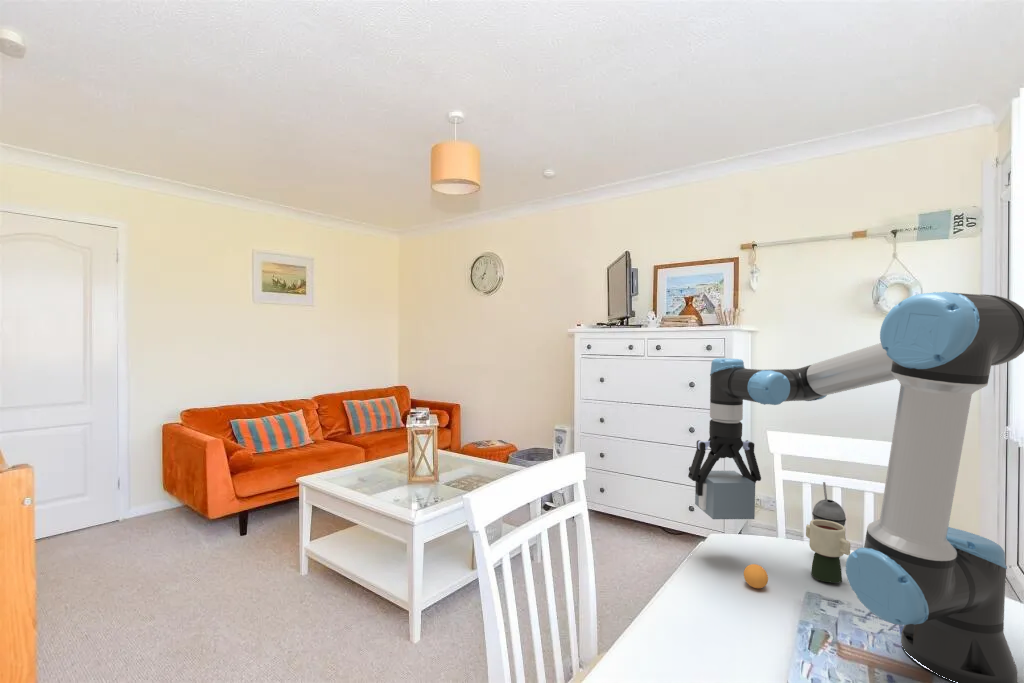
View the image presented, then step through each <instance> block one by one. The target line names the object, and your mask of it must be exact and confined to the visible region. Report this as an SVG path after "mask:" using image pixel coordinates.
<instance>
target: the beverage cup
mask: <svg viewBox="0 0 1024 683" xmlns="http://www.w3.org/2000/svg"><path fill="white" fill-rule="evenodd" d="M822 485H823V487H822V488H823V494H824V496H823V497H824V499H822V500H819V501H818V502H817V503H816V504H814V507H813V511H812V517H813V520H827V521H832V522H836V523H839V524H841V525H843V526H844V527H845V525H846V521H847V517H846V514H845V510H844V509H843V507H842V506H841V505H840V504H839V503H838V502H836V501H835V500H832V499H828V493H827V487H826V486H827V485H826V482H825V481H824V482H823V481H822ZM839 559H840V557H839Z"/></svg>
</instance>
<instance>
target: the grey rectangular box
mask: <svg viewBox="0 0 1024 683" xmlns="http://www.w3.org/2000/svg"><path fill="white" fill-rule="evenodd" d="M704 483H706V484H707V499H706V510H702V509H701V508H700V507H699V496H698V495H697V494H696V484H695V486H694V488H695V489H694V490H695V491H694V492H695V494H694V495H695V496H694V497H695V498H694V505H695V506H696V507H697V508H699V509H700V510H701V511H703V512H704V513H705V514H706V515H708V517H709V518H711V519H712V520H755V514H756V510H755V509H756V483H755V482H753V481H751V480H749V479H748V478H746V477H744V476H743V475H742V474H741V473H739V472H737V471H736V470H711V471H710V473H709V474H708V476H707V478H706V479H705V481H704Z"/></svg>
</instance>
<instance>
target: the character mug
mask: <svg viewBox="0 0 1024 683" xmlns="http://www.w3.org/2000/svg"><path fill="white" fill-rule="evenodd" d="M805 536H806V538H807V539H809V548H810V549H811V551H813V552H814V554H813V556H812V557H813V558H812V562H811V568H810V574H811V576H812V578H814V579H816V580H819V581H820V582H824V583H843V574H842V567H841V559H840V558H839V557H843V556H844V555H846V556H849V555H850V554H851V542H850V541H849V540H847V538H846V527H845V525H844V526H843V525H841V524H839V523H836V522H832V521H827V520H814V519H812V520H810V522H809V524H806V527H805Z"/></svg>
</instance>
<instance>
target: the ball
mask: <svg viewBox="0 0 1024 683" xmlns="http://www.w3.org/2000/svg"><path fill="white" fill-rule="evenodd" d="M743 578H744V580H745V582H746V583H747V584H748V585H749V586H750V587H752V588H754V589H762V588H764V587H766V586H767V584H768V581H769V575H768V573H767V571H766V569H765V568H763V567H762V566H761V565H760V564H756V563H751V564H748V565H747V566H746V567H745V568H744V570H743Z"/></svg>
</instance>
